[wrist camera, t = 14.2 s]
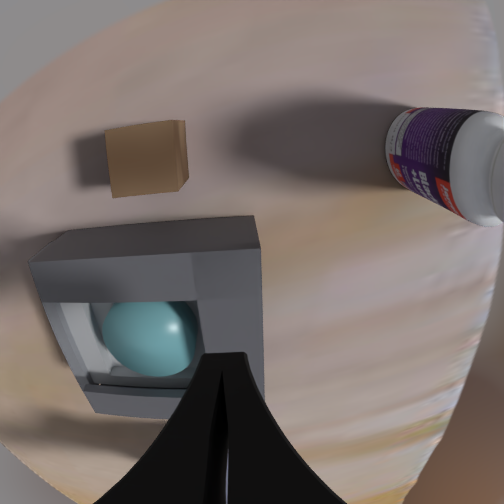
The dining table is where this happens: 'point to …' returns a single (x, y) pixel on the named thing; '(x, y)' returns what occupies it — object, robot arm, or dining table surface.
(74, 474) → the dining table surface
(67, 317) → the tray
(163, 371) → the teal rounded dome
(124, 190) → the brown rectangular block
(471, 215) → the pill bottle
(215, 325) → the grey drawer housing
